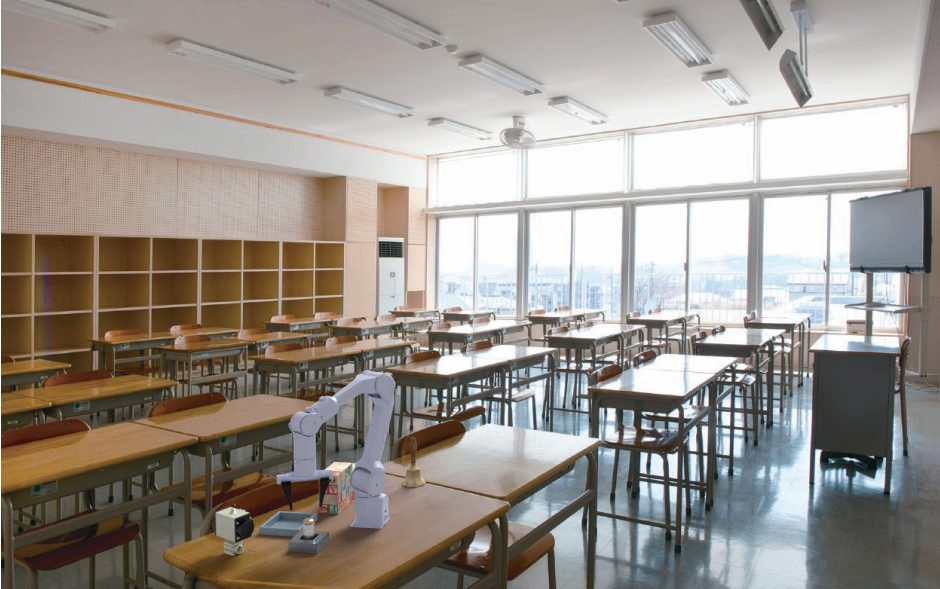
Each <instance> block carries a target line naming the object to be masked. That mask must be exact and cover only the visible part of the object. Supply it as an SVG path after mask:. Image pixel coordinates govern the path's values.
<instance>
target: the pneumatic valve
mask: <svg viewBox="0 0 940 589" xmlns="http://www.w3.org/2000/svg"><path fill="white" fill-rule="evenodd" d="M211 525H212V527H213V528H214V535H215V536H217V537H219V538H221V539H224V542H223V548H224V550H223V553H224V554H226V555H229V556H236V555H240V554H241V553H243V552H244V545H243V543H244V540H247V539H249V538H251V537H252V536H253V535H252V534H253V533H254V531H255V523H254V519H252V513H251V512H247V511H246V510H245V509H242V508H239V509H238V508H234V507H232V506H228V507H224V508H221V509H219V510H217V511H214V515H213V517H212V519H211Z"/></svg>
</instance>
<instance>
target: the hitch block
mask: <svg viewBox="0 0 940 589" xmlns="http://www.w3.org/2000/svg"><path fill="white" fill-rule="evenodd" d="M314 536H315V539H314V540H304V530H301V531H300V532H298V533H297V534H296V535H295V536H294V537H292V538H291V539H290V540H289V541H288V542H287V543H288V548H287V549H288V552H291V553H304V554H319V553H320V551H321V550H322V549H324V547H325V546H326V545H327V544H328V543H329V542H330V531H326V530H314Z"/></svg>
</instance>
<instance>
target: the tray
mask: <svg viewBox="0 0 940 589" xmlns="http://www.w3.org/2000/svg"><path fill="white" fill-rule="evenodd" d="M306 518H313V519H314V524H316V522H317V521H318V519H319V518H318V513H317V512H316V513H315V512H302V511H301V512H300V511H286V510H285V511H284V510H283V511H282V510H279V511H277V512H276V513H275V514H274V515H272V516H271V517H270V518H268V519H267V520H266V521H265V522H263V524H261V525H260V526H259V527H258V530H259V531H258V532H259V533H258V534H259V535H263V536H264V535H265V536H276V537H277V536H279V537H292V538H293V537H294V536H295V535H296V534H297V533H298V532H300V531H301V530H303V520H304V519H306Z"/></svg>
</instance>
